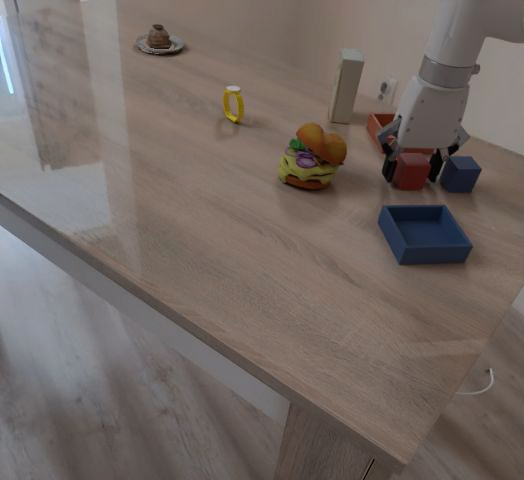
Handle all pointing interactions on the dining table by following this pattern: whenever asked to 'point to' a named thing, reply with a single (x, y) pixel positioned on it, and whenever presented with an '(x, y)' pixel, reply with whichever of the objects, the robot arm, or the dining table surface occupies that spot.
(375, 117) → the terracotta tray
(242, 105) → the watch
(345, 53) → the cosmetic box
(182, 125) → the dining table surface
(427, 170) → the red block
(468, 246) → the blue tray
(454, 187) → the blue block
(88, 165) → the dining table surface
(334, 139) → the cheeseburger
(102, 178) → the dining table surface
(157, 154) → the dining table surface
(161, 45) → the pastry
